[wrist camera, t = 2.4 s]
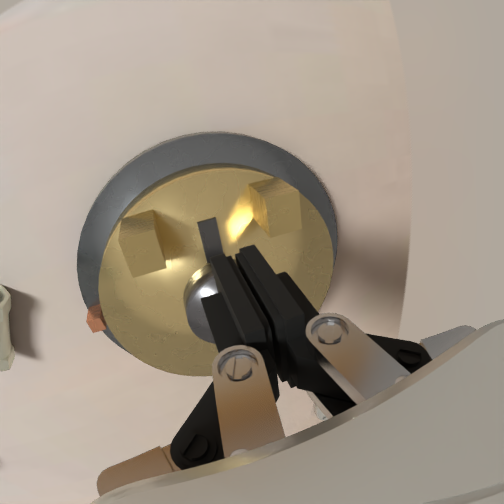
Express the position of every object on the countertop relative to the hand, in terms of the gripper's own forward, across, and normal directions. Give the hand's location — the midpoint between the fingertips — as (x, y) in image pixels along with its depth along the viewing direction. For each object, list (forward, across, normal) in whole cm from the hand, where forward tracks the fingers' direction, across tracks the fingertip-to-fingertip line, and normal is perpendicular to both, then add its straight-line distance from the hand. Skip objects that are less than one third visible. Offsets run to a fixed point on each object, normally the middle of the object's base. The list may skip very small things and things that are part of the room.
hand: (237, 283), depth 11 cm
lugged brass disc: (+11, 0, +7) cm, 13 cm away
